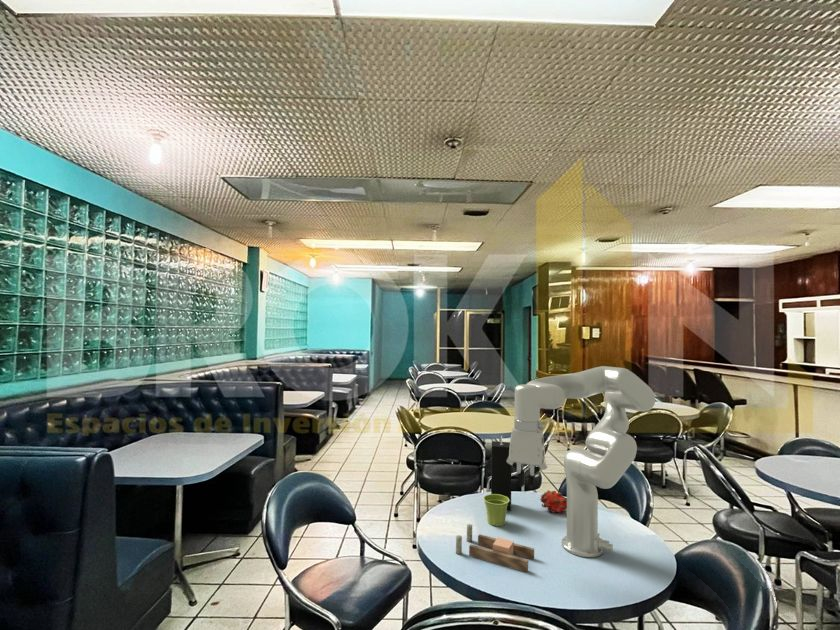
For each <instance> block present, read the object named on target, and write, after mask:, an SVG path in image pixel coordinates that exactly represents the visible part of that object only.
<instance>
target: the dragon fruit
mask: <svg viewBox="0 0 840 630" xmlns="http://www.w3.org/2000/svg"><path fill="white" fill-rule="evenodd" d="M539 500H540V502H541V507H542V508H543V509H544V508H547V511H549V512H550V511H551V513H553V514H555V513H556V512H557V513H560V514H565V513H566V511H567V497H565V496H563V494H562V493H561V492H560V491H558V492H557V491H556V490H552V491H550V490H546V491H545V492H544V493H543V494H541V495H540V499H539Z"/></svg>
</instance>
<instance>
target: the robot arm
mask: <svg viewBox="0 0 840 630" xmlns="http://www.w3.org/2000/svg"><path fill="white" fill-rule="evenodd" d="M602 393H604V402H605V403H604V404H605V411H604V415H603V416H602V418H601V419H600V420H599V421H598V422H597V424H596V425H595V426H594V427H593V428H592V430H591V431H590V432H589V433H588V435H587V436H586V439H585V446H586V448H587V449H585V448H580V447H574V448H570V449H568V450H567V451H566V453H565V455H564V457H563V470H564V474H565V482H566V498H567V509H566V535H565V536H563V537H562V539H561V547H563V549H564V550H566V551H567V552H569V553H570V554H572V555H575V556H578V557H583V558H597V557H599V556H601V555H602V554H603V553H604V550H607V551H611V552H613V549H614V545H613V543H610V541H609V540H606V539H602V538H601V537H600V536H601V535H600V532H599V531H598V529H599V527H598V525H599V523H598V522H599V521H598V520H599V519H598V518H599V511H598V510H599V506H598V505H599V495H598V490H597V487H598V488H600V489H604V490H605V489H611V488H612V487H613V486H615V485H616V484H617V483H618V482H619V480H620V479H621V478H622V476H623V475H624V474H625V473H626V471H627V470H628V469H629V468H630V466H631V465H632V463H633V462H634V460H635V459H636V455H637V450H638V446H637V442H636V440H635V438H634V437H633V436H631V435H630V434H628V433H627V431H628V430H629V427H630V422H629V419H628V414H627V411H626V410H631V411H636V412H649V411H650V410H652V409H653V408H654V406H655V405H656V404H655V403H656V396H655V393H654V391H653V390H652V388H651V387H650V386H649V385H648V384H647V383H645V382H644V380H642V379H641V378H640V377H639V376H637V374H635V373H634V372H633V371H632V370H631V371H630V369H628V368H625V367H618V366H617V367H615V366H606V365H601V366H597V367H592V368H588V369H585V370H582V371H579V372H574V373H565V374H558V375H551V376H545V377H541V378H537V379H536V378H535V379H533V380H530V381H528V382H526V384H524V383H523V384H518V385H516V386H515V387H514V414H513V415H514V423H513V424H514V426H513V427H512V430H511V434H510V440H509V442H510V447H509V456H508V458H507V463H509V464H510V465H512V467H513V468H514V469H515V471H516V473H517V483H518V484H519V487H520V488H522V487H524V486H525V482H526V481H525V477H526V475H525V473H526V472H525V470H524V465H529V474H528V476H527V478H528V479H527V482H528V483H527V484H528V485H527V489H529V490H531V489H532V488H533V486H535V483H536V480H535V479H536V474H538V473H539V472H540V471H543V470H546V469H548V465H547V462H546V450H545V448H546V447H545V440H544V439H545V438H544V432H543V430H541V429H545V428H546V427H545V426H546V425H545V423H542V422H541V420H540V418H541V411H540V410H541V409H547V410H548V409H549V410H555V409H556V410H557V409H559V408H561V407H562V406H563V405H565V401H566V399H572V400H573V399H575V400H579V399H581V400H582V399H586V398H589V397H593V396H595V395H598V394H602ZM598 532H599V533H598Z"/></svg>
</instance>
